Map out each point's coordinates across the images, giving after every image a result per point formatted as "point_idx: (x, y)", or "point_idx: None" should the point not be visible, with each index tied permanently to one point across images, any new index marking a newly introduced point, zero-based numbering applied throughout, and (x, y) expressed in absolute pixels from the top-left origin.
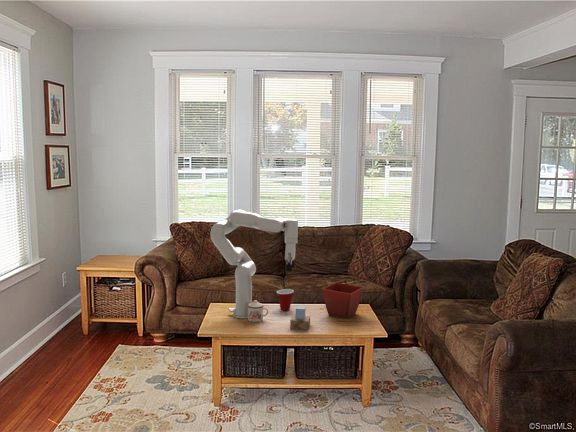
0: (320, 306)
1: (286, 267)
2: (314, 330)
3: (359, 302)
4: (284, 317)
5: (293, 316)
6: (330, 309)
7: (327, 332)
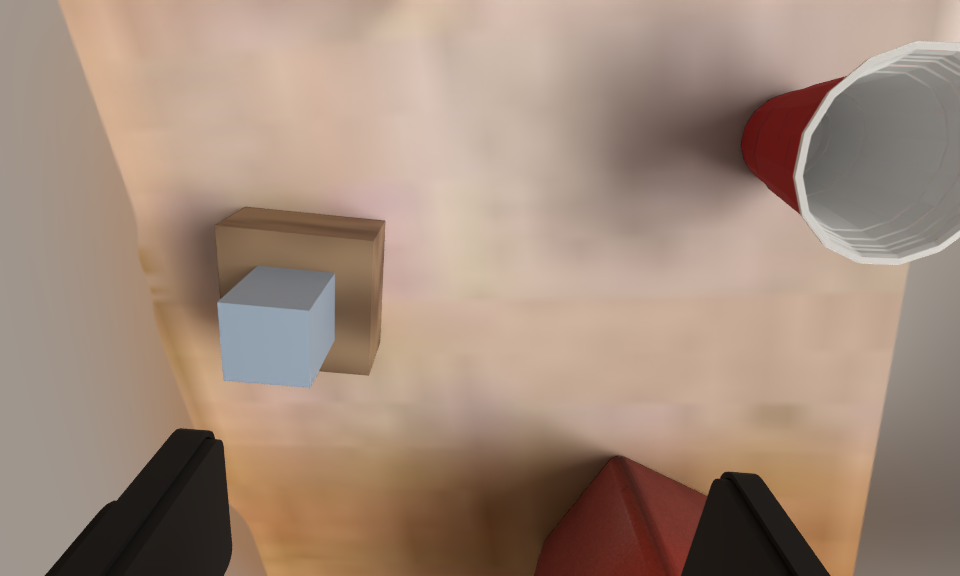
0: (836, 407)
1: (107, 512)
2: None
3: None
4: (538, 145)
5: (330, 247)
6: (600, 498)
7: (243, 442)
